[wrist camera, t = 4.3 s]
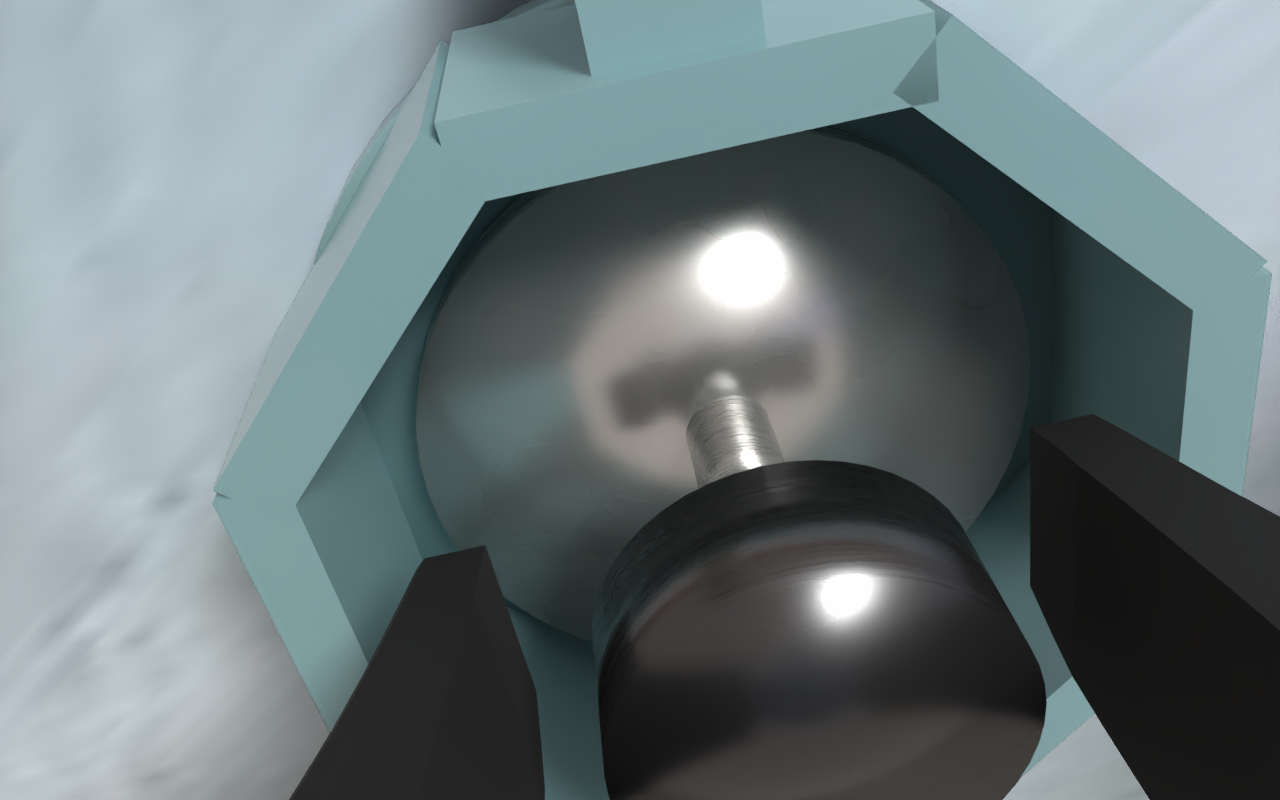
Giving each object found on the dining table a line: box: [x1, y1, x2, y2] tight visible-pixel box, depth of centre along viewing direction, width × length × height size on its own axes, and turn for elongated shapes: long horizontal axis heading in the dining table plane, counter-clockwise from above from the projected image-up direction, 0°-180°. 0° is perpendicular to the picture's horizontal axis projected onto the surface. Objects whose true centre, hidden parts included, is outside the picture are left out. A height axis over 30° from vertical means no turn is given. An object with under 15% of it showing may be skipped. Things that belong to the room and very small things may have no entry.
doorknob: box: [416, 125, 1047, 800], centre depth 11 cm, size 7×7×5 cm
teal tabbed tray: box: [213, 0, 1272, 800], centre depth 12 cm, size 10×12×4 cm
